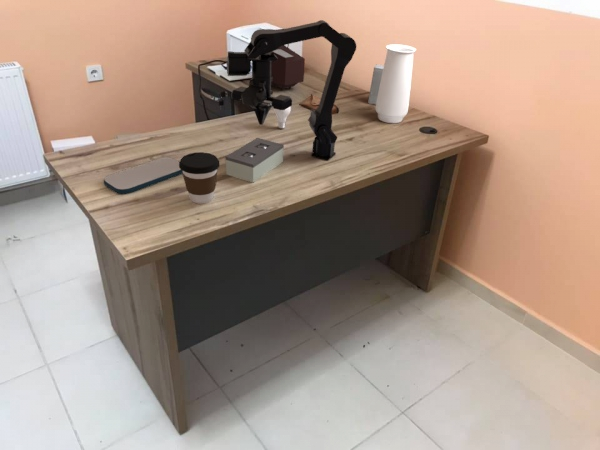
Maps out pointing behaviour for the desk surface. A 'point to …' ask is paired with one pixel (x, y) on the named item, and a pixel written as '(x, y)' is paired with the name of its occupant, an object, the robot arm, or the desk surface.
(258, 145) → the inner peg
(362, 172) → the desk surface
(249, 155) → the outer peg
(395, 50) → the vase
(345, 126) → the desk surface
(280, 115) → the lightbulb
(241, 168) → the press block
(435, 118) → the desk surface
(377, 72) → the skincare box
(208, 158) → the coffee cup
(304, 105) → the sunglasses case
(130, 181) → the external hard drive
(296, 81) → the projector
